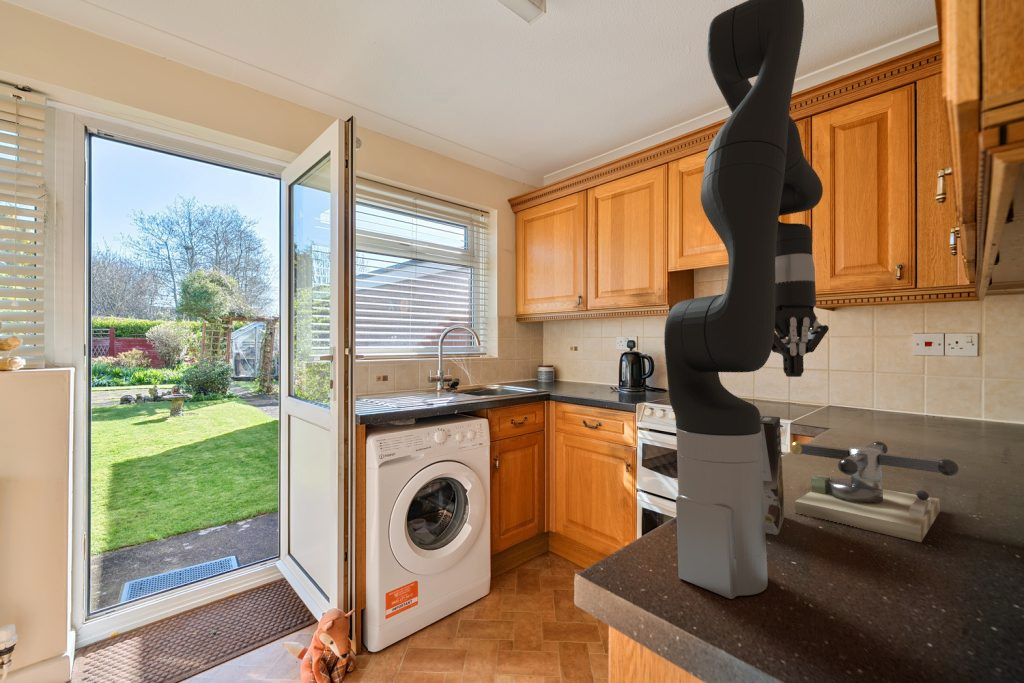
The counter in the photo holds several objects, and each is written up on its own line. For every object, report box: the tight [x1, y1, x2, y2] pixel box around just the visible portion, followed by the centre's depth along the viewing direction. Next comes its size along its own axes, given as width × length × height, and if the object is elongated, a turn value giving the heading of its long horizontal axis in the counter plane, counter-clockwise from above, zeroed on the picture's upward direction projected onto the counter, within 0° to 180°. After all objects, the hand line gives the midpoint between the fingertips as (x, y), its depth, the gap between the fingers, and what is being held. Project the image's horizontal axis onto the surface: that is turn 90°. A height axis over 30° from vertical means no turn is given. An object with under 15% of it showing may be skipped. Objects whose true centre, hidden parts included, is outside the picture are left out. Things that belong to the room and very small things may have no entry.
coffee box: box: [760, 415, 785, 536], centre depth 68 cm, size 9×6×16 cm
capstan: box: [789, 440, 960, 502], centre depth 71 cm, size 22×22×8 cm
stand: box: [794, 474, 941, 543], centre depth 70 cm, size 18×15×4 cm
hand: (793, 376), depth 79 cm, fingers closed
